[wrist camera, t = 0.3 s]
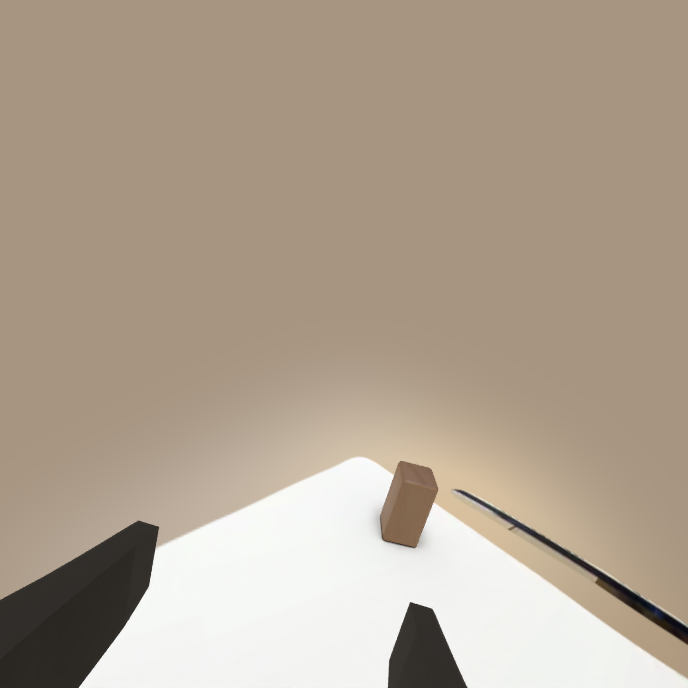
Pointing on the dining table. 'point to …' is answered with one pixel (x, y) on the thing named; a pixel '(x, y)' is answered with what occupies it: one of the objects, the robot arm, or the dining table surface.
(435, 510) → the dining table surface
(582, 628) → the dining table surface
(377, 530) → the dining table surface
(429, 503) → the wooden block
